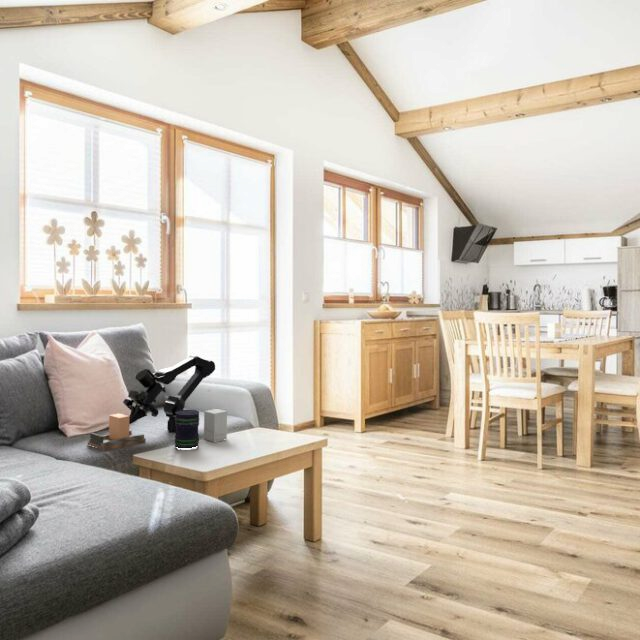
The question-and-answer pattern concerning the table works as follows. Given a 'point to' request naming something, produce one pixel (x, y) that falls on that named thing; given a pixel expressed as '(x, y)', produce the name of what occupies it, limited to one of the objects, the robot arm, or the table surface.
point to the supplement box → (215, 425)
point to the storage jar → (186, 428)
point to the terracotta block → (118, 426)
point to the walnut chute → (114, 441)
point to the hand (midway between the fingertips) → (128, 423)
